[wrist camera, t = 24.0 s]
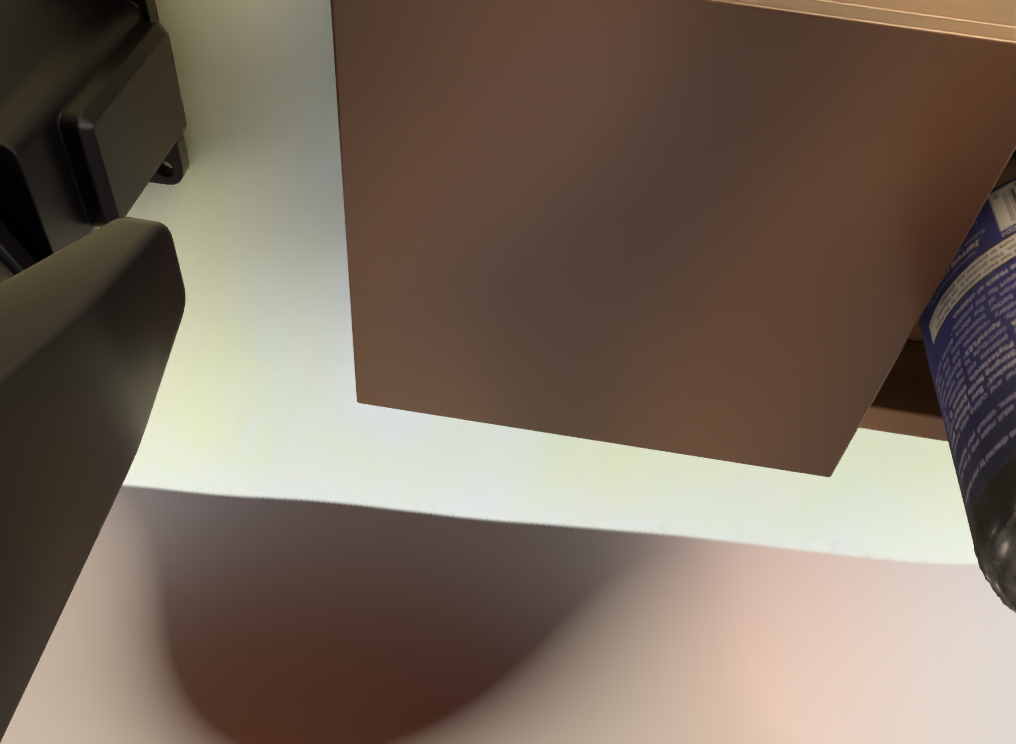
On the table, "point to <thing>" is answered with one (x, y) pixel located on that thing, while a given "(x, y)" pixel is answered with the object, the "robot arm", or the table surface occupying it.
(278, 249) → the table surface
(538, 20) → the box
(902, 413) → the drawer
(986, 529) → the pill bottle
